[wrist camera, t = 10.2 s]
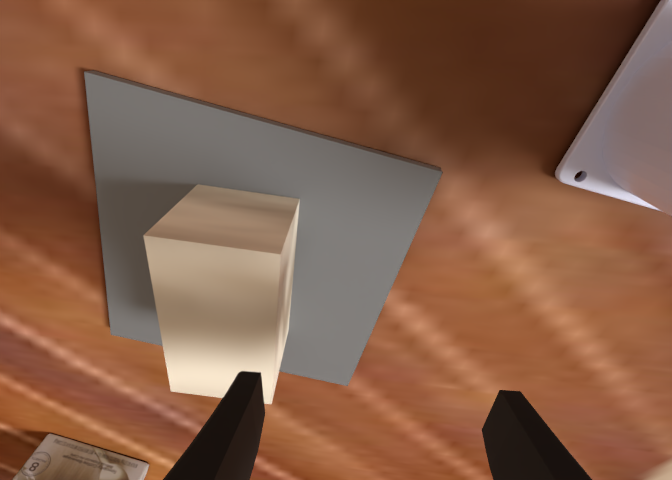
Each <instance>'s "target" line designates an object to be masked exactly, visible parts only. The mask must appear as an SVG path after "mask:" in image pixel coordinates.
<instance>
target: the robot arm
mask: <svg viewBox="0 0 672 480" xmlns="http://www.w3.org/2000/svg"><path fill="white" fill-rule="evenodd" d="M580 171H582V174H581V176H580V177H579V178H576V179H574V177H575V175H576V174H577V173H578V172H580ZM555 176H556V178H557V179H558V180H559V181H561V182H562V183H565V184H568V185H572V186H575V187H579V188H582V189H586V190H589V191H593V192H596V193H600V194H603V195H607V196H610V197H614V198H617V199H621V200H624V201H627V202H631V203H634V204H638V205H641V206H645V207H648V208H652V209H655V210H659V211H662V212H664V213H666V214H668V215H669V216H671V217H672V0H661V1H660V2H659V4H658V6H657V7H656V9H655V10H654V12H653V14H652V15H651V17H650V18H649V20H648V22H647V23H646V25H645V27H644V28H643V30H642V31H641V33H640V35H639V36H638V38H637V39H636V41H635V43H634V44H633V46H632V48H631V49H630V51H629V52H628V54H627V56H626V57H625V59H624V60H623V62H622V64H621V65H620V67H619V68H618V70H617V72H616V73H615V75H614V77H613V78H612V80H611V81H610V83H609V85H608V86H607V88H606V89H605V91H604V93H603V94H602V96H601V98H600V99H599V101H598V102H597V104H596V106H595V107H594V109H593V110H592V112H591V114H590V115H589V117H588V119H587V120H586V122H585V123H584V125H583V127H582V128H581V130H580V131H579V133H578V135H577V136H576V138H575V139H574V141H573V143H572V144H571V146H570V148H569V149H568V151H567V152H566V154H565V156H564V157H563V159H562V160H561V162H560V164H559V165H558V167H557V169H556V171H555ZM264 416H265V407H264V397H263V387H262V377H261V372H248V371H241V372H239V373H238V374H237V376H236V378H235V379H234V381H233V383H232V384H231V386H230V388H229V389H228V391H227V392H226V394H225V395H224V397H223V399H222V400H221V402H220V403H219V405H218V406H217V408H216V409H215V411H214V412H213V414H212V415H211V417H210V418H209V419H208V421H207V422H206V424H205V425H204V426H203V428H202V429H201V431H200V432H199V433H198V435H197V436H196V438H195V439H194V440H193V442H192V443H191V444H190V446H189V447H188V448H187V450H186V451H185V452H184V453H183V455H182V456H181V457H180V459H179V460H178V461H177V462H176V464H175V465H174V466H173V468H172V469H171V470H170V471H169V473H168V474H167V475H166V476H165V478H164V479H163V480H250V476H251V473H252V469H253V466H254V462H255V459H256V455H257V452H258V448H259V443H260V438H261V433H262V427H263V422H264ZM482 433H483V438H484V443H485V448H486V453H487V457H488V462H489V466H490V470H491V473H492V476H493V479H494V480H592V479H591V478H590V477H589V475H588V474H587V473H586V472H585V471H584V469H583V468H582V467H581V466H580V465H579V463H578V462H577V461H576V460H575V459H574V458H573V456H572V455H571V454H570V453H569V452H568V450H567V449H566V448H565V447H564V445H563V444H562V443H561V442H560V441H559V439H558V438H557V437H556V436H555V434H554V433H553V432H552V431H551V429H550V428H549V427H548V426H547V424H546V423H545V422H544V421H543V419H542V418H541V417H540V415H539V414H538V413H537V412H536V410H535V409H534V408H533V407H532V405H531V404H530V403H529V402H528V400H527V399H526V398H525V397H524V395H523V394H522V393H521V392H520V391H506V390H499V393H498V395H497V397H496V399H495V402H494V404H493V406H492V408H491V411H490V413H489V415H488V417H487V419H486V422H485V424H484V426H483V428H482Z"/></svg>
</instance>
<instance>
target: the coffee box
mask: <svg viewBox="0 0 672 480" xmlns="http://www.w3.org/2000/svg"><path fill="white" fill-rule="evenodd" d="M148 467H149V464H147V463H146V462H142V461H139V460H136V459H133V458H129V457H126V456H123V455H120V454H117V453H114V452H110V451H107V450H104V449H101V448H97V447H94V446H91V445H88V444H84V443H81V442H78V441H75V440H71V439H68V438H65V437H61V436H58V435H54V434H51V433H49V434H48V435H47V436H46V437H45V438H44V440H43V441H42V442H41V444H40V445H39V446H38V447H37V449H36V450H35V451H34V453H33V454H32V455H31V456H30V458H29V459H28V460H27V462H26V463H25V464H24V465H23V467H22V468H21V469H20V471H19V472H18V473H17V474H16V475H15V477H14V478H13V479H12V480H144V478H145V476H146V473H147V470H148Z"/></svg>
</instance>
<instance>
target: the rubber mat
mask: <svg viewBox="0 0 672 480" xmlns="http://www.w3.org/2000/svg"><path fill="white" fill-rule="evenodd" d="M84 75H85V85H86V95H87V105H88V115H89V124H90V134H91V144H92V154H93V164H94V173H95V183H96V193H97V203H98V213H99V223H100V232H101V242H102V252H103V262H104V272H105V281H106V291H107V301H108V311H109V321H110V331H111V335H115V336H120V337H124V338H129V339H133V340H138V341H143V342H147V343H152V344H156V345H161V346H163V344H162V338H161V332H160V327H159V321H158V315H157V310H156V304H155V298H154V293H153V287H152V281H151V276H150V270H149V264H148V259H147V253H146V247H145V242H144V236H143V235H144V234H145V233H146V232H148V231H149V230H150V229H151V228H152V227H153V226H154V225H155V224H156V223H157V222H158V221H159V220H160V219H161V218H162V217H163V216H165V215H166V214H167V213H168V212H169V211H170V210H171V209H172V208H173V207H174V206H175V205H176V204H177V203H178V202H179V201H180V200H182V199H183V198H184V197H185V196H186V195H187V194H188V193H189V192H190V191H191V190H192V189H193V188H194V187H195V186H196V185H197V184H199V185H206V186H213V187H220V188H227V189H234V190H241V191H248V192H255V193H262V194H269V195H276V196H283V197H290V198H297V199H300V202H299V214H298V226H297V237H296V249H295V260H294V272H293V284H292V295H291V307H290V318H289V330H288V335H287V339H286V343H285V348H284V352H283V356H282V361H281V365H280V369H279V371H281V372H285V373H290V374H295V375H299V376H304V377H308V378H313V379H318V380H322V381H327V382H331V383H336V384H341V385H345V386H348V384H349V382H350V380H351V377H352V375H353V373H354V371H355V368H356V366H357V364H358V362H359V359H360V357H361V355H362V353H363V350H364V348H365V346H366V344H367V341H368V339H369V337H370V335H371V332H372V330H373V328H374V326H375V323H376V321H377V319H378V317H379V314H380V312H381V310H382V308H383V305H384V303H385V301H386V299H387V296H388V294H389V292H390V290H391V287H392V285H393V283H394V281H395V278H396V276H397V274H398V272H399V269H400V267H401V265H402V263H403V260H404V258H405V256H406V254H407V251H408V249H409V247H410V245H411V242H412V240H413V238H414V236H415V233H416V231H417V229H418V227H419V224H420V222H421V220H422V218H423V215H424V213H425V211H426V209H427V206H428V204H429V202H430V200H431V197H432V195H433V193H434V191H435V188H436V186H437V184H438V182H439V179H440V177H441V175H442V173H443V172H442V170H441V169H440V168H439V167H435V166H432V165H428V164H425V163H421V162H417V161H414V160H410V159H407V158H403V157H400V156H396V155H393V154H389V153H385V152H382V151H378V150H375V149H371V148H368V147H364V146H361V145H357V144H353V143H350V142H346V141H343V140H339V139H336V138H332V137H329V136H325V135H321V134H318V133H314V132H311V131H307V130H304V129H300V128H297V127H293V126H289V125H286V124H282V123H279V122H275V121H272V120H268V119H265V118H261V117H258V116H254V115H250V114H247V113H243V112H240V111H236V110H233V109H229V108H226V107H222V106H218V105H215V104H211V103H208V102H204V101H201V100H197V99H194V98H190V97H186V96H183V95H179V94H176V93H172V92H169V91H165V90H162V89H158V88H154V87H151V86H147V85H144V84H140V83H137V82H133V81H130V80H126V79H122V78H119V77H115V76H112V75H108V74H105V73H101V72H98V71H94V70H92V71H85V72H84Z"/></svg>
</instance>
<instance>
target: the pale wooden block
mask: <svg viewBox="0 0 672 480" xmlns="http://www.w3.org/2000/svg"><path fill="white" fill-rule="evenodd" d="M299 202H300V199H297V198H290V197H283V196H276V195H269V194H262V193H255V192H248V191H241V190H234V189H227V188H220V187H213V186H206V185H199V184H197V185H196V186H195V187H194V188H193V189H192V190H191V191H190V192H189V193H188V194H187V195H186V196H185V197H184V198H183V199H182V200H180V201H179V202H178V203H177V204H176V205H175V206H174V207H173V208H172V209H171V210H170V211H169V212H168V213H167V214H166V215H165V216H163V217H162V218H161V219H160V220H159V221H158V222H157V223H156V224H155V225H154V226H153V227H152V228H151V229H150V230H149V231H148V232H146V233H145V234H144V235H143V236H144V242H145V247H146V253H147V259H148V264H149V270H150V276H151V281H152V287H153V293H154V298H155V304H156V310H157V315H158V321H159V327H160V332H161V338H162V344H163V349H164V355H165V361H166V366H167V372H168V378H169V383H170V389H171V391H172V392H180V393H188V394H196V395H203V396H211V397H219V398H223V397H224V395H225V394H226V392H227V391H228V389H229V388H230V386H231V384H232V383H233V381H234V379H235V378H236V376H237V374H238V373H239V372H241V371H248V372H261V377H262V387H263V397H264V403H265V404H272V400H273V395H274V391H275V387H276V382H277V378H278V374H279V369H280V365H281V361H282V356H283V352H284V348H285V343H286V339H287V335H288V330H289V318H290V307H291V295H292V284H293V272H294V260H295V249H296V237H297V226H298V214H299Z"/></svg>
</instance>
